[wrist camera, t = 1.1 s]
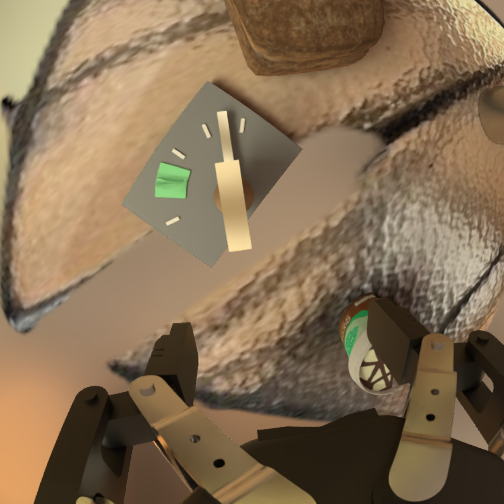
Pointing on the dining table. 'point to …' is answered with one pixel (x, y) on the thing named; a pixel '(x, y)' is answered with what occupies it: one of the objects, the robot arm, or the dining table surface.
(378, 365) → the food container
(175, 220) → the gauge plate
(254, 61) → the bread
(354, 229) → the dining table surface
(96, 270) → the dining table surface
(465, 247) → the dining table surface
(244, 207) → the dial needle
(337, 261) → the dining table surface
